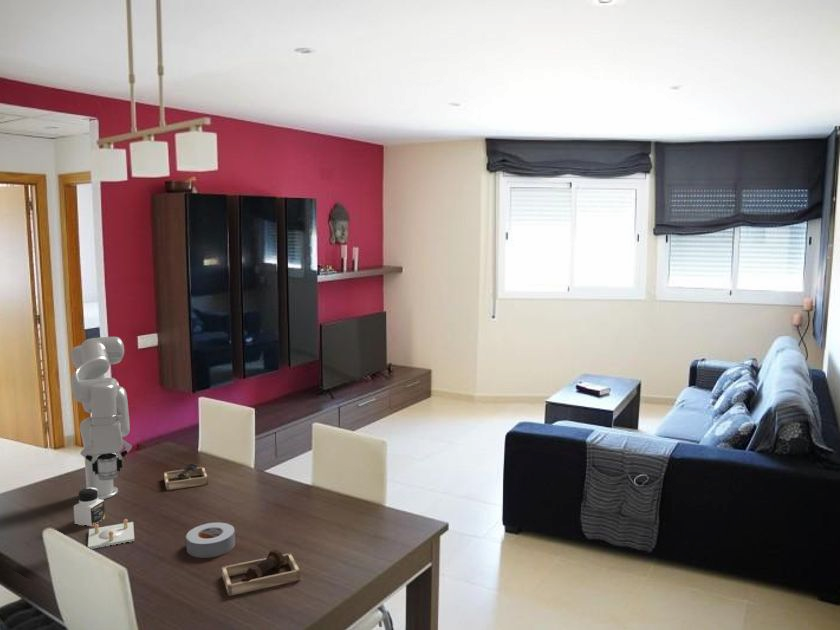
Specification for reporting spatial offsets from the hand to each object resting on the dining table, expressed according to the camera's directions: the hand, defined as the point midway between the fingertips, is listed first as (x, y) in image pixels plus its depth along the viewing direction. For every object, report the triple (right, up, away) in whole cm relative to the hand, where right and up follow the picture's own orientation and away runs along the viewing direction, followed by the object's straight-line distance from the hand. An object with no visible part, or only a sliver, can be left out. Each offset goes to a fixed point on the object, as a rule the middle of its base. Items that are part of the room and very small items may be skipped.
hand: (107, 471), depth 222 cm
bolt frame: (+57, -27, -23) cm, 67 cm away
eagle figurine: (+8, -17, +52) cm, 56 cm away
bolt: (+57, -26, -23) cm, 67 cm away
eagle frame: (+8, -17, +52) cm, 55 cm away
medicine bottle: (-13, -22, +14) cm, 29 cm away
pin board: (0, -23, +3) cm, 23 cm away
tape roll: (+36, -25, -3) cm, 44 cm away
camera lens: (0, -2, 0) cm, 2 cm away
